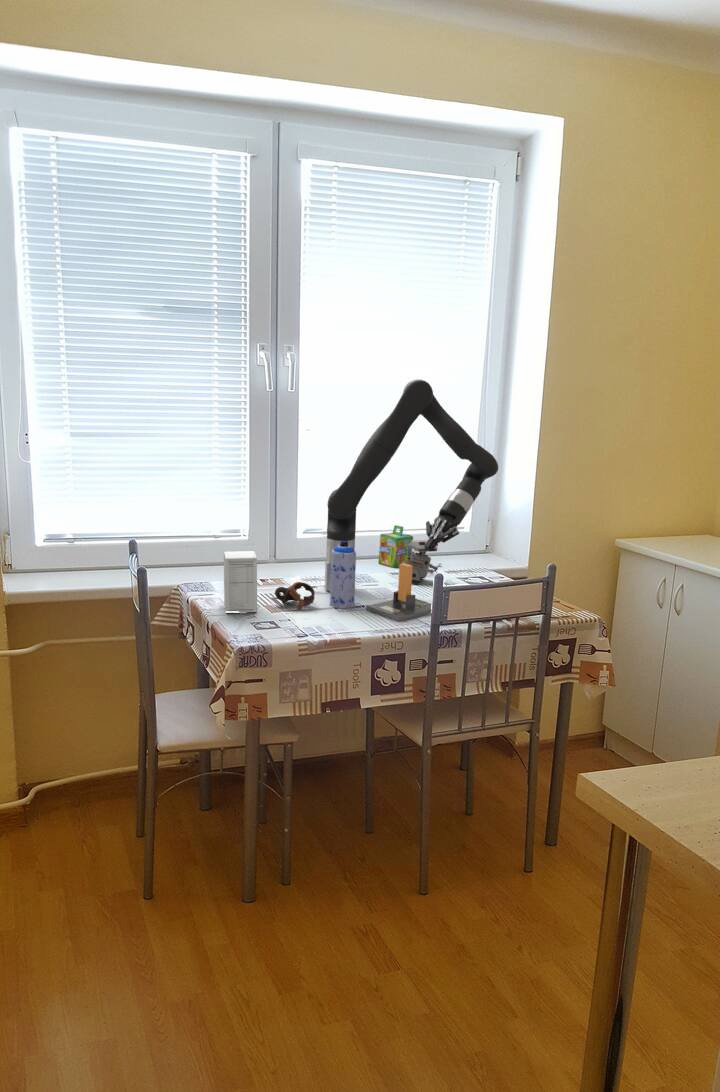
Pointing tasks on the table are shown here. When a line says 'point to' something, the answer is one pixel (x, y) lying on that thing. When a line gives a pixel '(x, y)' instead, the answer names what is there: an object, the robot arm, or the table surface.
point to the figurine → (420, 560)
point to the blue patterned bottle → (343, 576)
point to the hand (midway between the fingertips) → (427, 549)
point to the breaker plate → (401, 608)
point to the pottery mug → (295, 594)
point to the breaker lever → (404, 582)
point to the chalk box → (394, 548)
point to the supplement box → (240, 581)
